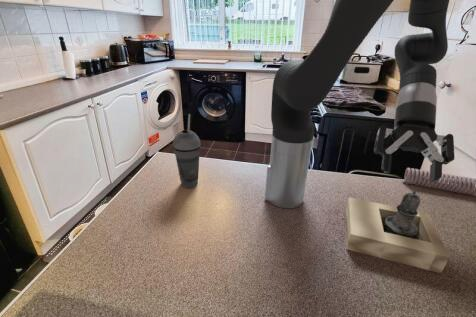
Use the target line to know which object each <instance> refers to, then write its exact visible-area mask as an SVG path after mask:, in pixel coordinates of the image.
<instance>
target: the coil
mask: <svg viewBox="0 0 476 317" xmlns="http://www.w3.org/2000/svg"><path fill="white" fill-rule="evenodd" d="M402 180H403V181H401V182H402V183H403V184H408V185H409V184H410V185H415V186H419V187H423V186H424V187H425V188H426V186H427V188H431V189H435V188H436V190H440V189H441V190H442V191H443V190H444V191H448V192H453V193H457V194H458V193H459V194H465V195H470V196H474V195H475V196H476V178H473V177H469V176H460V175H456V174H451V173H449V174H448V173H443V172H442V176H441V178H440V179H438V180H437V181H436V182H430V170H425V169H424V170H422V169H418V168H414V167H413V168H412V167H411V168H410V167H406V169H405V172H404V179H402ZM424 187H423V188H424Z"/></svg>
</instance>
